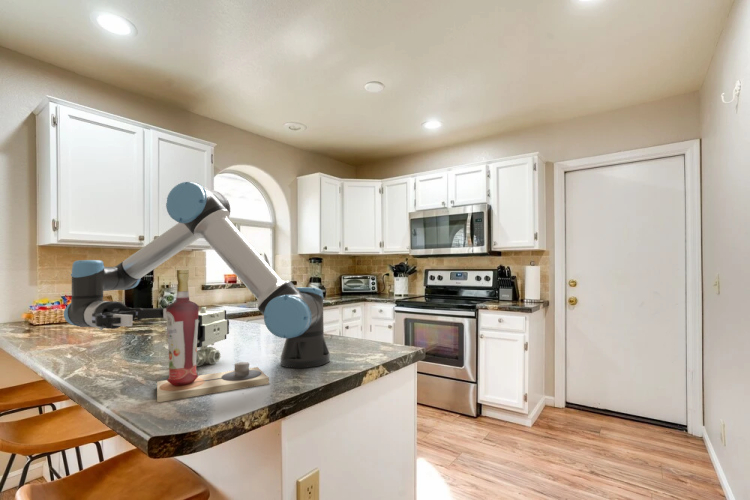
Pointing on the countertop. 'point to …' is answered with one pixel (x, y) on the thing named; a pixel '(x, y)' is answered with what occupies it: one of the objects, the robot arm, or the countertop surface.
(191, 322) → the liquor
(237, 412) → the countertop surface
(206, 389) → the board
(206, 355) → the ball valve
